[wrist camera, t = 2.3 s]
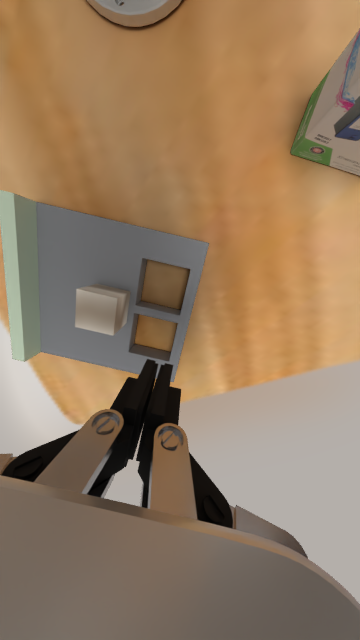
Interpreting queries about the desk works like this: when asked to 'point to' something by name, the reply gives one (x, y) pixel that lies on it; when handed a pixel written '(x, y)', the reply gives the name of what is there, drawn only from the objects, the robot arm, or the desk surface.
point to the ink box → (334, 116)
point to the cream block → (101, 308)
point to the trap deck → (86, 282)
